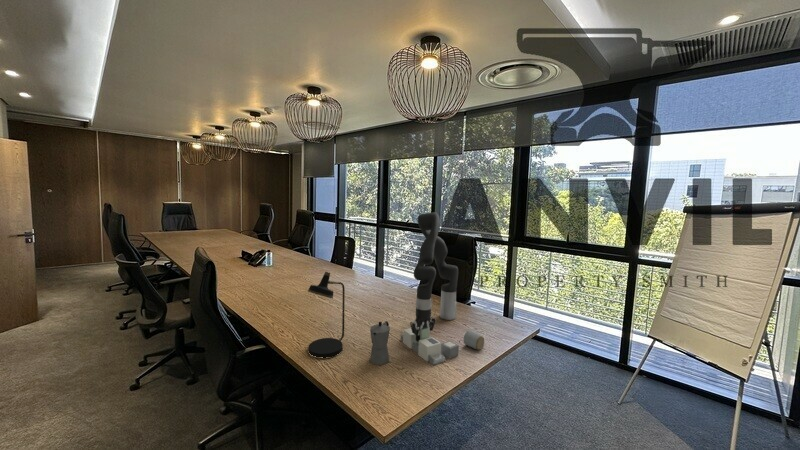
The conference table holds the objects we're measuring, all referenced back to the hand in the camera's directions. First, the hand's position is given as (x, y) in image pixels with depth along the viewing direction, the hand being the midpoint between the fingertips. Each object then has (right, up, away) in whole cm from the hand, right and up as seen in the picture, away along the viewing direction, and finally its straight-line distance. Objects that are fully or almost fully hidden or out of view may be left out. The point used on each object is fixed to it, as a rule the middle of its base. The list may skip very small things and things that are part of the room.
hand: (422, 340), depth 153 cm
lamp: (-46, -4, -2) cm, 46 cm away
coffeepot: (-20, -5, -9) cm, 23 cm away
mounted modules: (-1, -5, 0) cm, 5 cm away
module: (0, -1, 0) cm, 1 cm away
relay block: (+13, -6, -3) cm, 14 cm away
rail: (-1, -5, 0) cm, 5 cm away
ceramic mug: (+27, -5, +6) cm, 28 cm away
